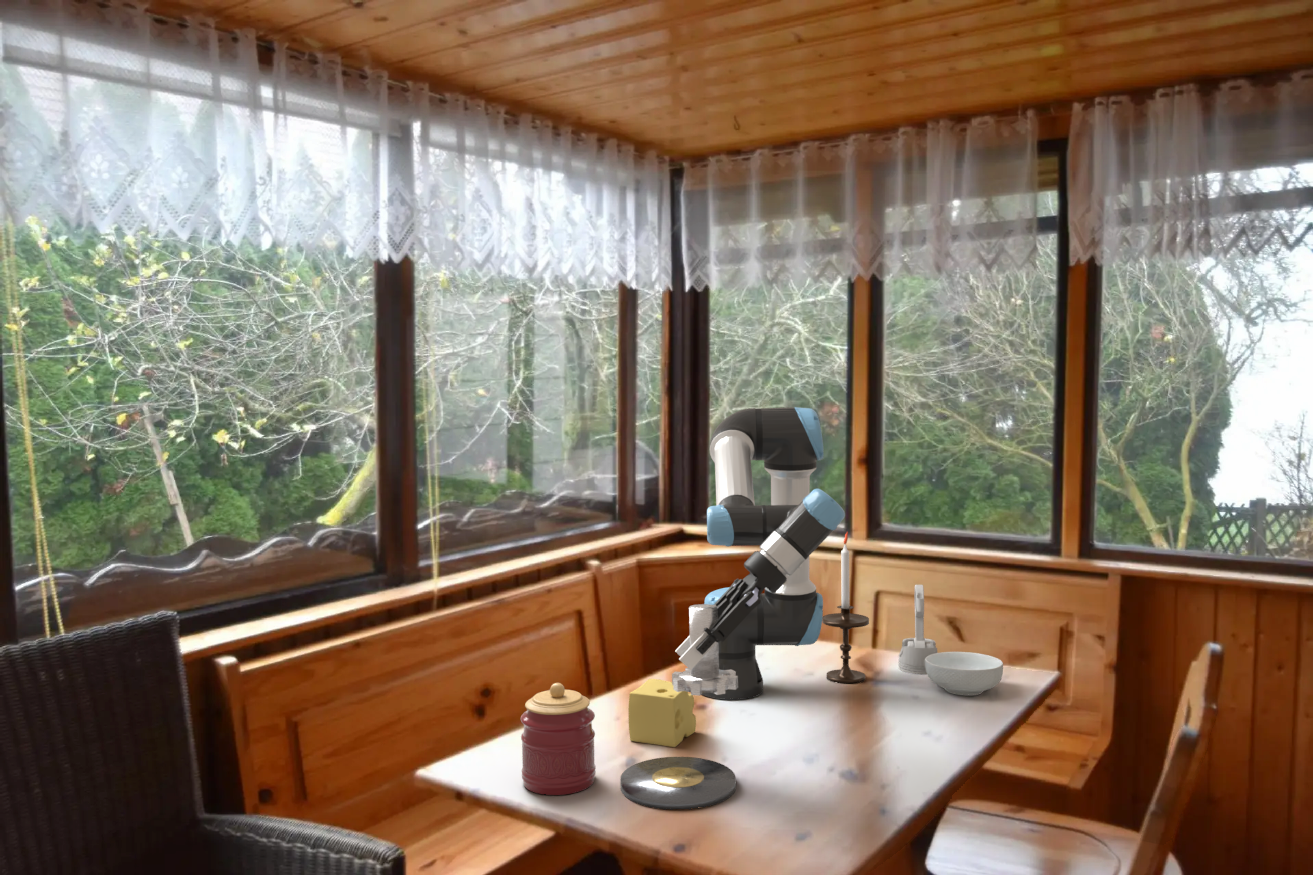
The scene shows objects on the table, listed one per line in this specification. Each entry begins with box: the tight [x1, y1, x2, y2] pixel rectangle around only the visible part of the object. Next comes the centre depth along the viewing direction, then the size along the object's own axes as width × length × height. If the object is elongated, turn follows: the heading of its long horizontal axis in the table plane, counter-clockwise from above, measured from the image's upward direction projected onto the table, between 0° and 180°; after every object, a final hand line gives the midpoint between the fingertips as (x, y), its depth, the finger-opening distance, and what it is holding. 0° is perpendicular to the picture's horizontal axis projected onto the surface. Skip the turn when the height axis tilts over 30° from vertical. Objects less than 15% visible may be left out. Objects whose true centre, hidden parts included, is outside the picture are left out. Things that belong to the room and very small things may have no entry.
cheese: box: [627, 678, 697, 748], centre depth 199 cm, size 10×11×10 cm
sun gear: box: [671, 603, 738, 697], centre depth 176 cm, size 12×12×14 cm
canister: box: [520, 682, 597, 796], centre depth 176 cm, size 13×13×18 cm
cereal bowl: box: [925, 651, 1004, 696], centre depth 227 cm, size 17×17×7 cm
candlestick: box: [822, 531, 870, 685], centre depth 237 cm, size 11×11×35 cm
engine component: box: [898, 584, 939, 675], centre depth 245 cm, size 11×20×10 cm
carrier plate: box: [619, 756, 737, 811], centre depth 174 cm, size 20×20×2 cm
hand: (682, 660), depth 176 cm, fingers closed on sun gear, 5 cm apart
